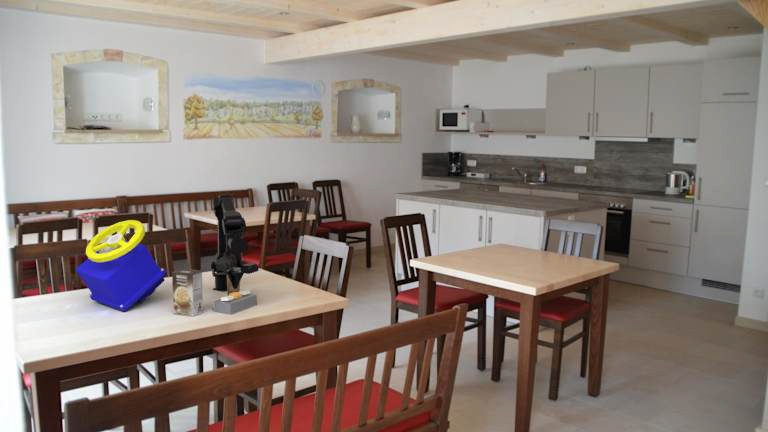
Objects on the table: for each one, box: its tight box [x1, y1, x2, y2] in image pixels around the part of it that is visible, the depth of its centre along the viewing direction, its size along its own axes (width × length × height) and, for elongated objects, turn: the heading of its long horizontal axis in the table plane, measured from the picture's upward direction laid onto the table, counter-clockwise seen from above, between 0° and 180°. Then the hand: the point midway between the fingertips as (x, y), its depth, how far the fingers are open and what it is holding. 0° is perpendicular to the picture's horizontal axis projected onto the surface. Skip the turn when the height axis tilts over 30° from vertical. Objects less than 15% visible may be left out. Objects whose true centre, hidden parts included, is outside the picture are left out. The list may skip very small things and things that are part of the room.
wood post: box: [226, 275, 241, 296], centre depth 256 cm, size 5×5×10 cm
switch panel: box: [213, 293, 258, 315], centre depth 242 cm, size 8×15×4 cm, turn 152°
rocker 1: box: [220, 295, 234, 301], centre depth 237 cm, size 4×3×1 cm
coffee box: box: [171, 268, 204, 318], centre depth 234 cm, size 9×6×16 cm
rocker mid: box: [229, 292, 242, 299], centre depth 241 cm, size 4×3×1 cm
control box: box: [75, 219, 168, 313], centre depth 244 cm, size 26×27×30 cm
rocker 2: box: [237, 289, 251, 295], centre depth 245 cm, size 4×3×1 cm
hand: (235, 288), depth 241 cm, fingers closed
